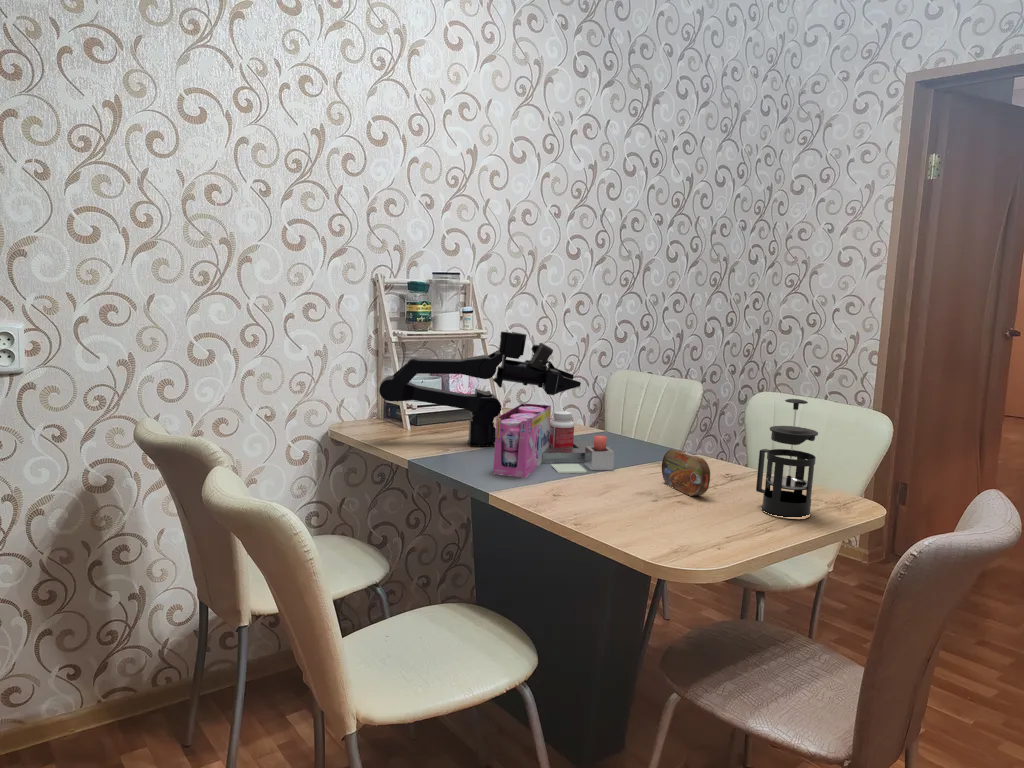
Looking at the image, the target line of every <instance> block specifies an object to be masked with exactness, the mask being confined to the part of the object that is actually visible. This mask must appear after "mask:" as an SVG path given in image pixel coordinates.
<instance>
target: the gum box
mask: <svg viewBox="0 0 1024 768" xmlns="http://www.w3.org/2000/svg"><path fill="white" fill-rule="evenodd" d="M551 407H552V406H551V405H547V404H537V403H536V404H533V403H525V402H524V403H520V404H518V405H517V406H515V407H514V408H512V409H509V410H508V411H506V412H505V413H502V414H500V415H498V416H496V420H495V421H496V423H495V428H496V436H495V443H494V455H493V456H494V458H493V473H495V474H494V475H496V474H503V475H502V476H505V475H511V476H510V477H513V476H518V477H517V478H521V477H525V478H527V477H528V476H529V475H530V474H531V473H532V472H533V471H535V470H536V469H537V468H538V467H539V466H540V465H541V464H543V463H542V453H543V452H544V451H545V450H546V449H547V448H548V447H549V441H550V423H551V413H552V410H551ZM537 466H538V467H537ZM536 467H537V468H536ZM535 468H536V469H535ZM530 472H531V473H530ZM529 473H530V474H529ZM528 474H529V475H528ZM527 475H528V476H527ZM526 476H527V477H526Z"/></svg>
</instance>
